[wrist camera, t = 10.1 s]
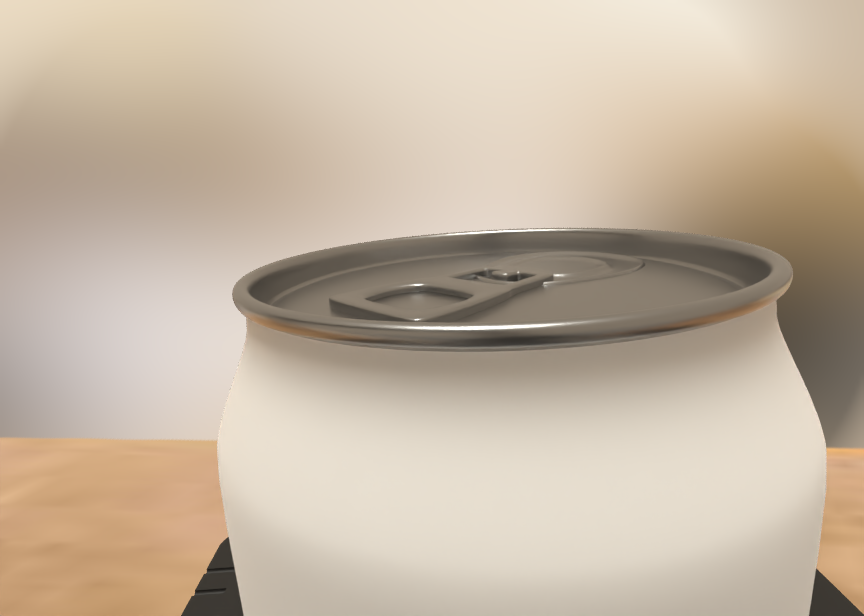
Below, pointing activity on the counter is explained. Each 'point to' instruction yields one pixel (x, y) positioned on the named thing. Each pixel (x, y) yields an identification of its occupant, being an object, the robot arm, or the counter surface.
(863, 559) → the counter surface
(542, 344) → the can
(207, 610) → the robot arm
